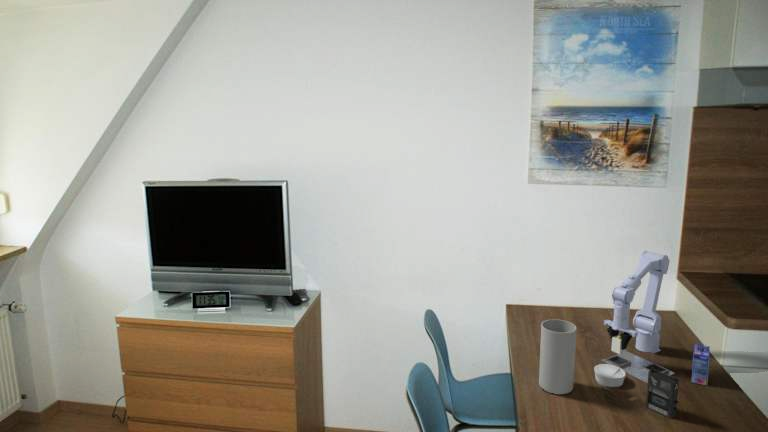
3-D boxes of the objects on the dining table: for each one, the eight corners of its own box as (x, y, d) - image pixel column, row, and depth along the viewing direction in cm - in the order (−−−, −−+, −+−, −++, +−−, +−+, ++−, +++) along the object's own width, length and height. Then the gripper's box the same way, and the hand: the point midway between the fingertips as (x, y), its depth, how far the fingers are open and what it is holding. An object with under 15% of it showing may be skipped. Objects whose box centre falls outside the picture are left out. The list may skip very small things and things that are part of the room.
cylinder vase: (570, 379, 203) (573, 320, 198) (575, 396, 191) (578, 334, 186) (537, 377, 205) (539, 318, 200) (540, 393, 193) (542, 331, 188)
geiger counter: (680, 415, 178) (684, 375, 175) (673, 420, 175) (677, 380, 172) (650, 402, 186) (653, 364, 183) (643, 406, 184) (646, 367, 181)
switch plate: (626, 353, 223) (627, 349, 223) (674, 375, 204) (675, 370, 204) (601, 362, 216) (601, 357, 216) (648, 385, 197) (648, 381, 197)
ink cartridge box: (691, 371, 207) (694, 337, 204) (707, 374, 204) (711, 340, 201) (690, 382, 199) (694, 347, 196) (707, 386, 196) (711, 350, 193)
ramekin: (628, 391, 194) (629, 378, 192) (596, 389, 196) (597, 376, 195) (620, 376, 204) (621, 364, 203) (590, 374, 206) (591, 362, 205)
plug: (617, 348, 215) (618, 333, 214) (626, 352, 212) (627, 337, 210) (611, 350, 213) (612, 335, 212) (619, 354, 210) (620, 339, 208)
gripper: (599, 311, 214) (597, 342, 217) (630, 324, 201) (627, 356, 204) (611, 308, 217) (609, 338, 220) (642, 320, 204) (639, 352, 207)
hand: (619, 346), depth 212 cm, fingers closed on plug, 4 cm apart
